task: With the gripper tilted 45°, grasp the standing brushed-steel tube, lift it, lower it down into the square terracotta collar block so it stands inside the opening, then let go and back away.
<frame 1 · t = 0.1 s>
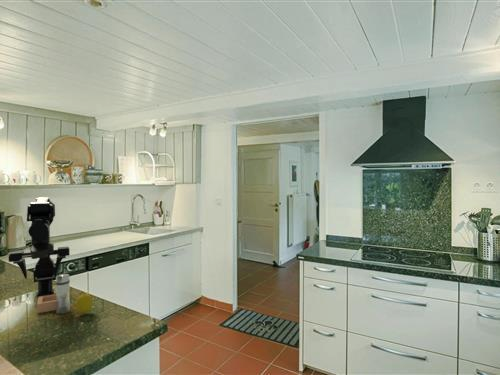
hand: (41, 276, 115), 15 cm above the counter, tool pointing down, fingers open, 9 cm apart
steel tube: (63, 311, 119), on the counter
terracotta collar: (52, 306, 124), on the counter
lemon: (84, 314, 116), on the counter
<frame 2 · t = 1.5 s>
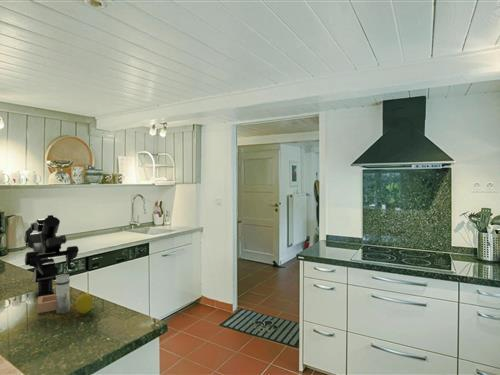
hand: (56, 271, 125), 14 cm above the counter, tool tilted 45°, fingers open, 9 cm apart
nothing on the counter moved.
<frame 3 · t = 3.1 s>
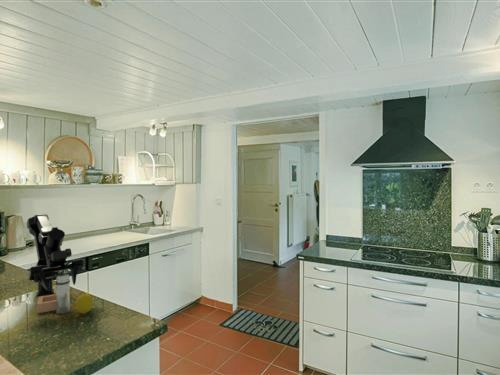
hand: (61, 286, 120), 9 cm above the counter, tool tilted 45°, fingers open, 9 cm apart
nothing on the counter moved.
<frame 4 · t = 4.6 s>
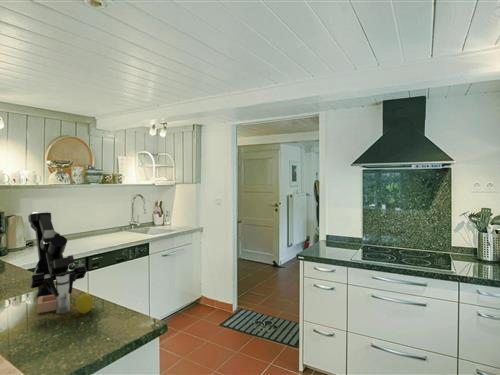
hand: (63, 294, 118), 7 cm above the counter, tool tilted 45°, fingers closed on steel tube, 4 cm apart
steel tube: (63, 311, 119), on the counter, touching gripper
everything else where it was.
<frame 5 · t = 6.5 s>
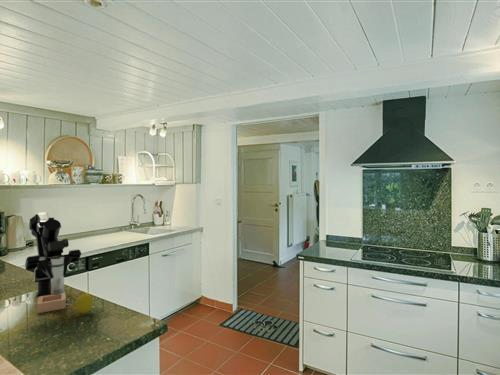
hand: (58, 276, 121), 13 cm above the counter, tool tilted 45°, fingers closed on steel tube, 4 cm apart
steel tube: (57, 293, 122), point 6 cm above the counter, touching gripper
everything else where it was.
when the fingers open (8 cm above the counter, at t = 8.5 s): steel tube drops 1 cm, resting in terracotta collar.
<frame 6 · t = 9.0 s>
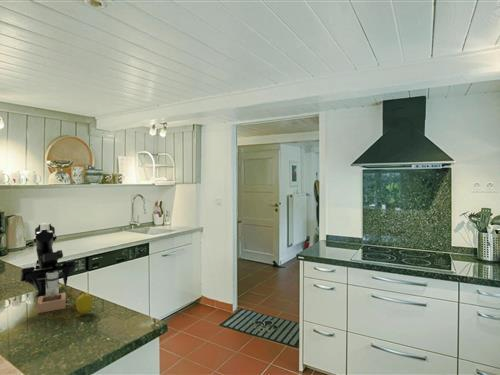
hand: (52, 287, 123), 8 cm above the counter, tool tilted 45°, fingers open, 9 cm apart
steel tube: (52, 306, 124), resting in terracotta collar
everything else where it was.
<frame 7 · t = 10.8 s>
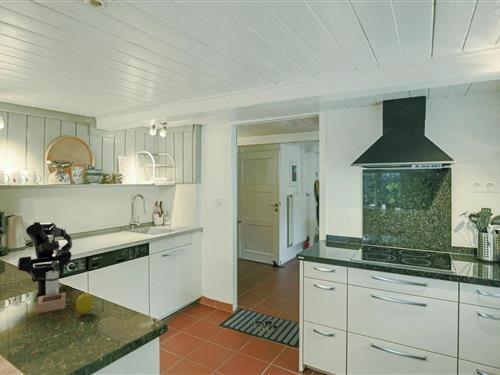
hand: (49, 276, 127), 11 cm above the counter, tool tilted 45°, fingers open, 9 cm apart
nothing on the counter moved.
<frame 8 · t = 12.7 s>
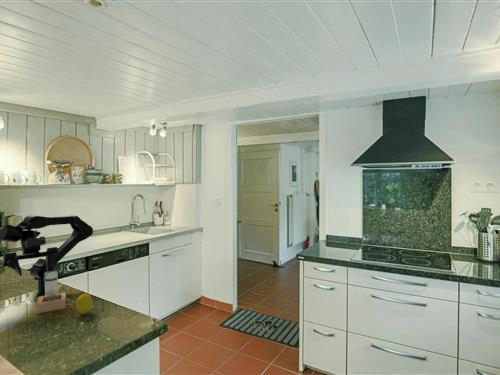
hand: (34, 273, 124), 14 cm above the counter, tool tilted 45°, fingers open, 9 cm apart
nothing on the counter moved.
at the end: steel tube 0.1 cm off-centre on the terracotta collar, point 0.0 cm above the terracotta collar's base; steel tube tilted 1°; the gripper is holding nothing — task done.
